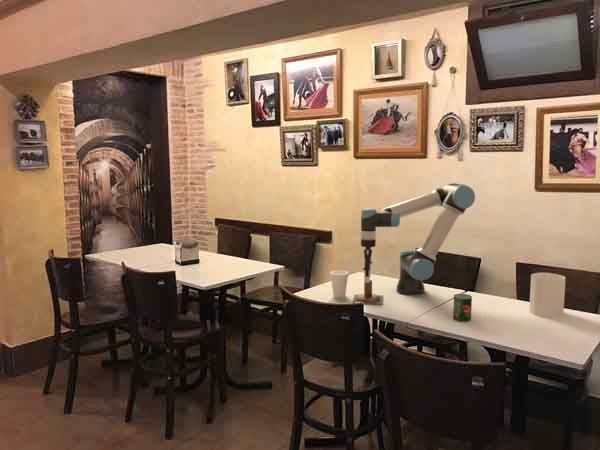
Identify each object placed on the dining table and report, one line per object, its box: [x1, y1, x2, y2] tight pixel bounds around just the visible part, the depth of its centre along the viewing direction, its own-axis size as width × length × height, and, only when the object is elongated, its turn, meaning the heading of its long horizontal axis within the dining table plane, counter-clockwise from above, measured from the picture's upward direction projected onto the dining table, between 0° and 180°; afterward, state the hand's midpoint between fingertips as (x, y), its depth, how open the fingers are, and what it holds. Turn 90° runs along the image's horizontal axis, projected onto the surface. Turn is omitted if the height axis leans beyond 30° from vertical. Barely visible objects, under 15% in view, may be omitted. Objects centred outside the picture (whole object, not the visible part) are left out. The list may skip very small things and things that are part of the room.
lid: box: [356, 279, 380, 302], centre depth 264 cm, size 12×12×10 cm
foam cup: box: [329, 270, 349, 299], centre depth 271 cm, size 10×9×13 cm
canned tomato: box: [452, 293, 473, 323], centre depth 232 cm, size 8×8×11 cm
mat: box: [352, 294, 384, 306], centre depth 264 cm, size 15×15×1 cm
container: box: [529, 272, 566, 319], centre depth 238 cm, size 14×14×18 cm
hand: (367, 279), depth 263 cm, fingers open, 13 cm apart
